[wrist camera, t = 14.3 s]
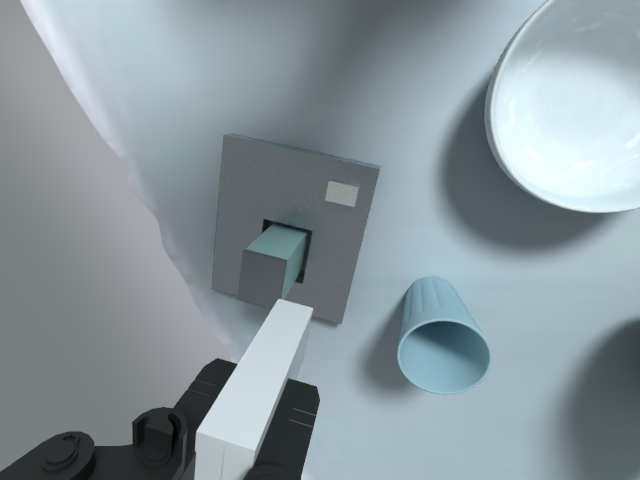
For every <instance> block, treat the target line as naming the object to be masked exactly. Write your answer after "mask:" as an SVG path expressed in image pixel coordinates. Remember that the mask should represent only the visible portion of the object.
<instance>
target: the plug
mask: <svg viewBox="0 0 640 480" xmlns="http://www.w3.org/2000/svg"><path fill="white" fill-rule="evenodd" d="M307 236H308V231H307V230H303V229H299V228H295V227H291V226H287V225H283V224H278V223H273V224H272V225H271V226H270V227H269V228H268V229H267V230H265V231H264V232H263V233H262V234H261V235H260V236H259V237H258V238H257V239H256V240H254V241H253V242H252V243H251V244H250V245H249V246H248V247H247V248H246V249H245V250H244V251H243V253H242V261H241V270H240V279H239V288H238V297H237V299H238V300H242V301H245V302H249V303H253V304H256V305H260V306H263V307H267V308H271V309H272V308H273V307H274V305H275V303H276V302H277V300H278V299H282V300H284V299H285V297H286V295H287V294H288V292H289V290H290V288H291V287H292V285H293V283H294V282H295V280H296V278H297V277H298V275H299V273H300V271H301V268H302V263H303V257H304V252H305V246H306V241H307Z"/></svg>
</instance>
